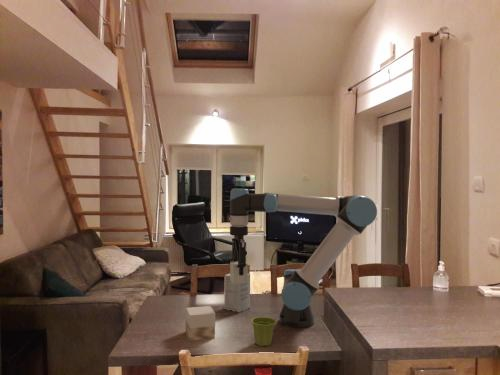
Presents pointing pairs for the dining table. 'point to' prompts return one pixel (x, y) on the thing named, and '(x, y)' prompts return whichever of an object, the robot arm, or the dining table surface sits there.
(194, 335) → the tower bottom block
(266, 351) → the dining table surface
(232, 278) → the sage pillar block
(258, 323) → the plant pot
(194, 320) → the tower top block
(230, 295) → the supplement box
